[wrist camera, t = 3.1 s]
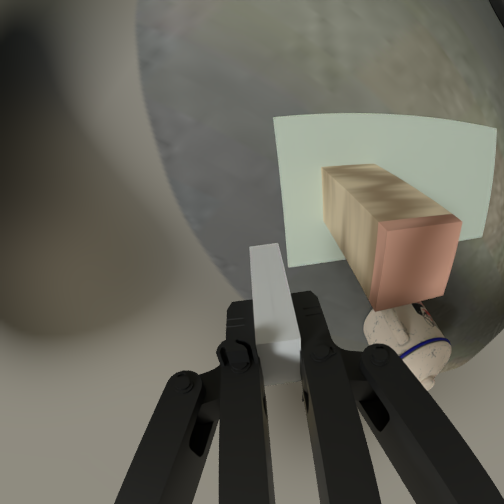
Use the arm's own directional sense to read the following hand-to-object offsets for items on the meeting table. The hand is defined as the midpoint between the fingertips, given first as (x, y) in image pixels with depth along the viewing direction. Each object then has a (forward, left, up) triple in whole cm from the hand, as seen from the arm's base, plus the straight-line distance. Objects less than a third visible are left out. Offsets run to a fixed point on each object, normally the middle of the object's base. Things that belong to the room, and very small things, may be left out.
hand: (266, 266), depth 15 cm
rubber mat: (-15, 0, -10) cm, 18 cm away
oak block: (-8, 0, -10) cm, 13 cm away
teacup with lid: (-15, +16, -10) cm, 24 cm away
